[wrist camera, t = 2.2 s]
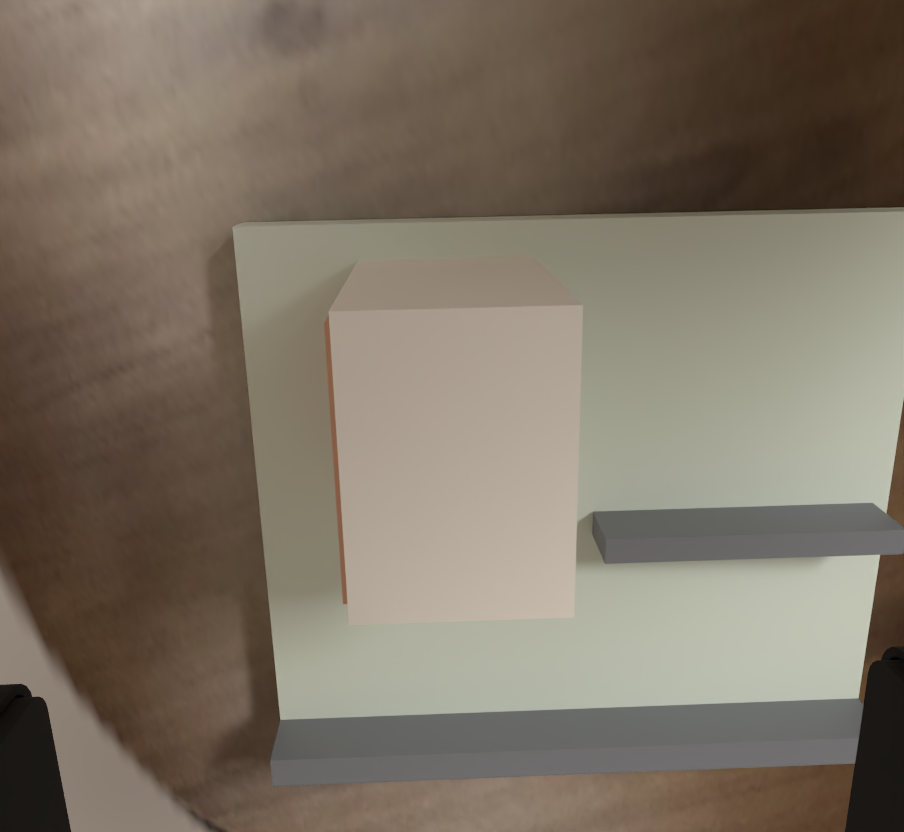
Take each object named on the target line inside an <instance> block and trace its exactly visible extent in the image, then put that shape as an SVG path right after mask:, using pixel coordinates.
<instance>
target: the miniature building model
mask: <svg viewBox="0 0 904 832" xmlns="http://www.w3.org/2000/svg"><path fill="white" fill-rule="evenodd" d="M232 230H233V240H234V250H235V261H236V271H237V281H238V291H239V302H240V312H241V322H242V332H243V343H244V353H245V363H246V373H247V384H248V394H249V404H250V414H251V425H252V435H253V445H254V455H255V466H256V476H257V486H258V496H259V507H260V517H261V527H262V537H263V548H264V558H265V568H266V578H267V589H268V599H269V609H270V619H271V630H272V640H273V650H274V660H275V671H276V681H277V691H278V701H279V712H280V723H279V727H278V731H277V735H276V739H275V743H274V747H273V751H272V755H271V759H270V764H271V774H272V784H273V786H291V785H317V784H342V783H368V782H393V781H418V780H444V779H469V778H495V777H520V776H546V775H571V774H597V773H622V772H648V771H673V770H699V769H724V768H750V767H775V766H801V765H826V764H852V763H855V760H856V754H857V747H858V740H859V733H860V726H861V719H862V712H863V706H864V705H863V704H862V702H861V701H860V700H859V699H858V697H859V690H860V684H861V677H862V671H863V664H864V657H865V651H866V644H867V637H868V631H869V624H870V618H871V611H872V604H873V598H874V591H875V584H876V578H877V571H878V565H879V558H880V555H889V554H903V550H904V527H903V526H901V525H900V524H899V523H898V522H896V521H895V520H894V519H892V518H891V517H890V516H889V515H887V514H886V512H887V505H888V498H889V492H890V485H891V479H892V472H893V465H894V459H895V452H896V445H897V439H898V432H899V426H900V419H901V412H902V406H903V399H904V207H893V208H849V209H805V210H761V211H717V212H673V213H629V214H585V215H541V216H497V217H453V218H409V219H364V220H320V221H276V222H243V223H240V224H238V225H235V226H233V227H232ZM531 255H533V256H534V257H535V258H536V259H537V260H538V261H539V262H540V263H541V264H542V265H543V266H544V267H545V268H546V269H547V270H548V271H549V272H550V273H551V274H552V275H553V276H554V277H555V278H556V279H557V280H558V281H559V282H560V283H561V284H562V285H563V286H564V287H565V288H566V289H567V290H568V291H569V292H570V293H571V294H572V295H573V296H574V297H575V298H576V299H577V300H578V301H580V302H581V303H582V304H583V328H582V363H581V399H580V434H579V469H578V504H577V540H576V575H575V610H574V618H546V619H517V620H488V621H459V622H430V623H401V624H372V625H349V619H348V604H343V597H342V582H341V567H340V553H339V538H338V523H337V508H336V493H335V478H334V463H333V448H332V433H331V418H330V404H329V389H328V374H327V359H326V344H325V329H324V322H325V320H326V319H327V317H328V315H329V312H328V311H329V310H330V308H331V306H332V305H333V303H334V301H335V299H336V298H337V296H338V294H339V293H340V291H341V289H342V287H343V286H344V284H345V282H346V281H347V279H348V277H349V275H350V274H351V272H352V270H353V268H354V267H355V265H356V263H357V262H358V260H363V259H405V258H447V257H489V256H531Z"/></svg>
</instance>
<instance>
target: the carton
mask: <svg viewBox="0 0 904 832" xmlns="http://www.w3.org/2000/svg"><path fill="white" fill-rule="evenodd" d="M328 312H329V315H328V317H327V319H326V320H325V322H324V329H325V344H326V359H327V374H328V389H329V404H330V418H331V433H332V448H333V463H334V478H335V493H336V508H337V523H338V538H339V553H340V567H341V582H342V597H343V604H348V619H349V625H372V624H401V623H430V622H459V621H488V620H517V619H546V618H574V610H575V575H576V540H577V504H578V469H579V434H580V399H581V363H582V328H583V304H582V303H581V302H580V301H578V300H577V299H576V298H575V297H574V296H573V295H572V294H571V293H570V292H569V291H568V290H567V289H566V288H565V287H564V286H563V285H562V284H561V283H560V282H559V281H558V280H557V279H556V278H555V277H554V276H553V275H552V274H551V273H550V272H549V271H548V270H547V269H546V268H545V267H544V266H543V265H542V264H541V263H540V262H539V261H538V260H537V259H536V258H535V257H534V256H533V255H531V256H489V257H447V258H405V259H363V260H358V262H357V263H356V265H355V267H354V268H353V270H352V272H351V274H350V275H349V277H348V279H347V281H346V282H345V284H344V286H343V287H342V289H341V291H340V293H339V294H338V296H337V298H336V299H335V301H334V303H333V305H332V306H331V308H330V310H329V311H328Z"/></svg>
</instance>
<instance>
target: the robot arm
mask: <svg viewBox="0 0 904 832" xmlns="http://www.w3.org/2000/svg"><path fill="white" fill-rule="evenodd" d="M0 832H71V829H70V824H69V819H68V814H67V808H66V803H65V798H64V792H63V787H62V782H61V777H60V771H59V766H58V761H57V755H56V750H55V745H54V740H53V734H52V729H51V724H50V719H49V713H48V708H47V705H46V703H45V701H44V699H43V698H41V697H32V695H31V692H30V690H29V689H28V688H27V686H25V685H23V684H10V685H0ZM845 832H904V646H903V647H891V648H889V649H887V650H886V651H885V653H884V654H883V656H882V660H880V661H875V662H873V663H872V665H871V666H870V668H869V672H868V678H867V685H866V692H865V699H864V706H863V712H862V719H861V726H860V733H859V740H858V747H857V754H856V760H855V767H854V774H853V781H852V788H851V795H850V802H849V809H848V815H847V822H846V829H845Z"/></svg>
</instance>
